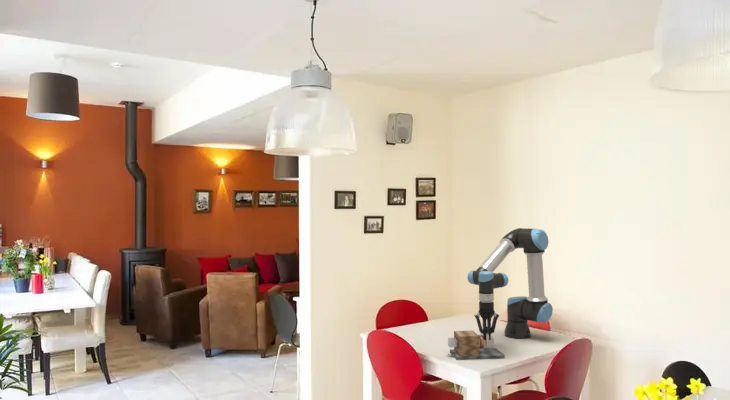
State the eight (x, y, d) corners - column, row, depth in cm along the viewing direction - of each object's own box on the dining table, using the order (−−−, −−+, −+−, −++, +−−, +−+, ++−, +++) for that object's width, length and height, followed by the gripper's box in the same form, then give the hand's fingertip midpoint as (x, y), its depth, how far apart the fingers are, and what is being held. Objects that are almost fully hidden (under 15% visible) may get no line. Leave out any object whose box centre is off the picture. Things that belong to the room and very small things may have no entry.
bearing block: (495, 350, 292) (495, 329, 292) (504, 358, 278) (504, 335, 278) (449, 352, 289) (449, 330, 289) (456, 359, 275) (456, 337, 275)
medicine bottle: (490, 347, 299) (490, 325, 299) (494, 350, 292) (494, 328, 292) (477, 347, 299) (477, 325, 299) (481, 351, 292) (481, 328, 292)
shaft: (479, 346, 287) (479, 333, 287) (483, 350, 280) (483, 336, 280) (447, 347, 286) (447, 334, 286) (450, 351, 279) (450, 337, 279)
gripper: (476, 302, 280) (477, 348, 280) (500, 302, 281) (501, 347, 281) (472, 300, 287) (473, 345, 287) (495, 299, 288) (496, 344, 288)
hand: (487, 346), depth 284 cm, fingers closed
